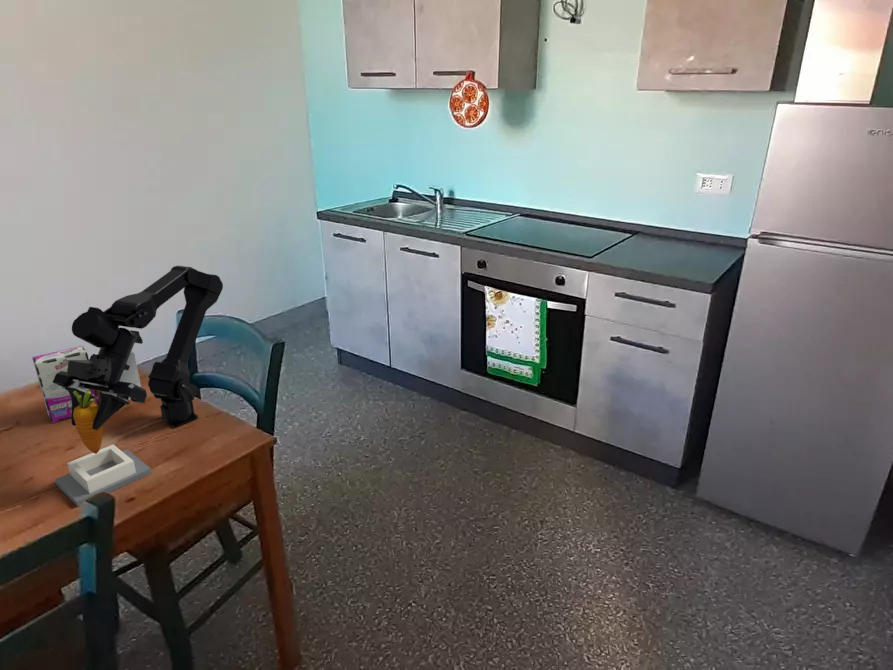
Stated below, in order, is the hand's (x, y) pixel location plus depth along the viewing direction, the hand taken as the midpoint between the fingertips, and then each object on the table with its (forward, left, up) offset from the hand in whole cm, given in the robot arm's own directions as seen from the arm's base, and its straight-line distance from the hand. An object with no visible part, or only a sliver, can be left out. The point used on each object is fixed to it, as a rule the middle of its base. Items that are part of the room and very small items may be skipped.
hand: (84, 427), depth 127 cm
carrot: (-1, -1, -7) cm, 8 cm away
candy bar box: (-8, -33, -13) cm, 37 cm away
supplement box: (-20, -33, -13) cm, 41 cm away
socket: (-1, 0, -13) cm, 13 cm away
